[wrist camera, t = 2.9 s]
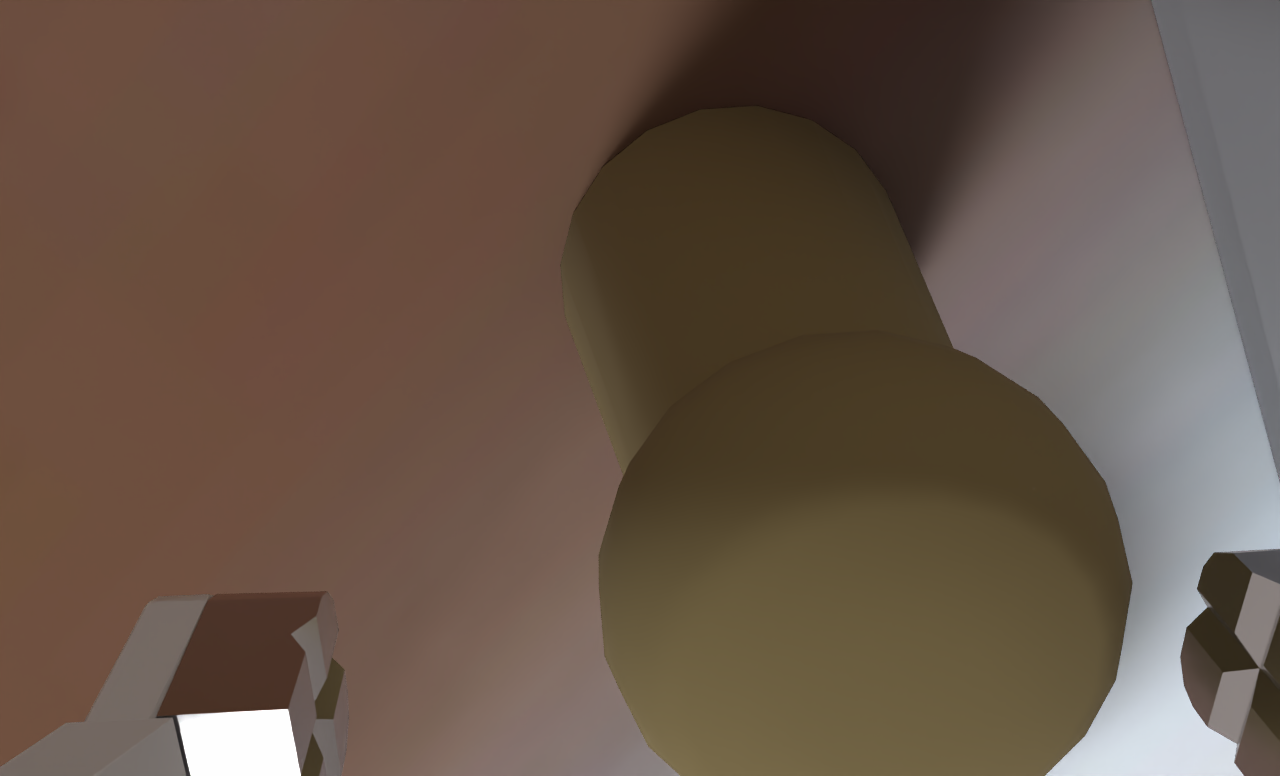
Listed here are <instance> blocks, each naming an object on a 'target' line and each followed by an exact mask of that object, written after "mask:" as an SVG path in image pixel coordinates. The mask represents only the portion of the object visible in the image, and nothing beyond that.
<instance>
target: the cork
mask: <svg viewBox="0 0 1280 776" xmlns="http://www.w3.org/2000/svg"><path fill="white" fill-rule="evenodd" d="M560 266H561V278H562V289H563V300H564V312H565V317H566V320H567V323H568V326H569V328H570V331H571V334H572V337H573V339H574V342H575V345H576V347H577V350H578V353H579V356H580V358H581V361H582V364H583V367H584V369H585V372H586V375H587V378H588V380H589V383H590V386H591V388H592V391H593V394H594V397H595V399H596V402H597V405H598V408H599V410H600V413H601V416H602V418H603V421H604V424H605V427H606V429H607V432H608V435H609V438H610V440H611V443H612V446H613V449H614V451H615V454H616V457H617V459H618V462H619V465H620V468H621V470H622V473H623V479H622V481H621V483H620V485H619V488H618V491H617V494H616V498H615V501H614V505H613V508H612V511H611V515H610V518H609V521H608V525H607V528H606V531H605V535H604V538H603V542H602V545H601V548H600V552H599V594H600V606H601V618H602V630H603V642H604V654H605V658H606V660H607V662H608V665H609V667H610V669H611V671H612V674H613V676H614V678H615V680H616V683H617V685H618V687H619V689H620V691H621V693H622V695H623V697H624V699H625V701H626V703H627V705H628V707H629V709H630V711H631V713H632V715H633V717H634V719H635V721H636V723H637V725H638V727H639V729H640V731H641V733H642V735H643V737H644V739H645V741H646V743H647V745H648V747H649V748H651V749H652V750H653V751H654V752H655V753H656V754H657V755H658V756H659V757H660V758H662V759H663V760H664V761H665V762H666V763H667V764H668V765H669V766H670V767H671V768H673V769H674V770H675V771H676V772H677V773H678V774H679V775H680V776H1045V775H1046V774H1047V773H1048V772H1049V771H1050V770H1051V769H1052V768H1053V767H1054V766H1055V765H1056V764H1057V763H1058V762H1059V761H1060V760H1061V759H1062V758H1063V757H1064V756H1065V755H1066V754H1067V753H1068V752H1069V751H1070V750H1071V749H1072V748H1073V747H1074V746H1075V745H1076V744H1077V743H1078V742H1079V741H1080V740H1081V739H1082V738H1083V737H1084V736H1085V735H1086V733H1087V731H1088V729H1089V728H1090V726H1091V724H1092V722H1093V720H1094V718H1095V717H1096V715H1097V713H1098V711H1099V709H1100V708H1101V706H1102V704H1103V702H1104V700H1105V699H1106V697H1107V695H1108V693H1109V691H1110V689H1111V688H1112V686H1113V684H1114V682H1115V680H1116V676H1117V670H1118V665H1119V660H1120V655H1121V649H1122V643H1123V637H1124V631H1125V625H1126V619H1127V613H1128V607H1129V601H1130V595H1131V589H1132V579H1131V575H1130V570H1129V566H1128V562H1127V557H1126V553H1125V548H1124V544H1123V540H1122V535H1121V531H1120V526H1119V522H1118V518H1117V515H1116V512H1115V509H1114V506H1113V503H1112V500H1111V498H1110V495H1109V492H1108V489H1107V486H1106V483H1105V481H1104V480H1103V478H1102V477H1101V476H1100V474H1099V473H1098V471H1097V470H1096V469H1095V467H1094V466H1093V465H1092V463H1091V462H1090V460H1089V459H1088V458H1087V456H1086V455H1085V454H1084V452H1083V451H1082V449H1081V448H1080V447H1079V445H1078V444H1077V442H1076V441H1075V440H1074V438H1073V437H1072V436H1071V434H1070V433H1069V431H1068V430H1067V429H1066V427H1065V426H1064V425H1063V423H1062V422H1061V421H1060V420H1059V419H1058V418H1057V417H1056V416H1055V415H1054V414H1053V413H1052V412H1051V411H1050V409H1049V408H1048V407H1047V406H1046V405H1045V404H1044V403H1043V402H1042V401H1041V400H1040V399H1039V398H1038V397H1037V396H1035V395H1034V394H1032V393H1031V392H1029V391H1027V390H1026V389H1024V388H1023V387H1021V386H1019V385H1018V384H1016V383H1015V382H1013V381H1012V380H1010V379H1008V378H1007V377H1005V376H1004V375H1002V374H1001V373H999V372H997V371H996V370H994V369H993V368H991V367H990V366H988V365H986V364H985V363H983V362H982V361H980V360H979V359H977V358H975V357H973V356H970V355H968V354H966V353H963V352H961V351H958V350H956V349H954V348H953V346H952V344H951V341H950V339H949V337H948V334H947V332H946V330H945V327H944V325H943V323H942V320H941V318H940V316H939V313H938V311H937V309H936V306H935V304H934V302H933V299H932V297H931V295H930V292H929V290H928V288H927V285H926V283H925V281H924V278H923V276H922V274H921V271H920V269H919V267H918V264H917V262H916V260H915V257H914V255H913V253H912V250H911V248H910V246H909V243H908V241H907V239H906V236H905V234H904V232H903V229H902V227H901V225H900V222H899V220H898V218H897V215H896V213H895V211H894V208H893V206H892V204H891V201H890V199H889V197H888V194H887V192H886V191H885V189H884V188H883V187H882V185H881V184H880V182H879V181H878V180H877V178H876V177H875V176H874V174H873V173H872V171H871V170H870V169H869V167H868V166H867V165H866V163H865V162H864V161H863V159H862V158H861V156H860V155H859V154H858V152H857V151H856V150H855V149H854V148H852V147H851V146H849V145H848V144H846V143H845V142H843V141H842V140H840V139H839V138H837V137H836V136H834V135H833V134H831V133H830V132H828V131H827V130H825V129H824V128H822V127H821V126H820V125H818V124H817V123H815V122H814V121H812V120H810V119H806V118H802V117H798V116H794V115H791V114H787V113H783V112H779V111H776V110H772V109H768V108H764V107H760V106H745V107H730V108H715V109H700V110H698V111H695V112H693V113H690V114H688V115H685V116H683V117H680V118H678V119H675V120H673V121H670V122H668V123H665V124H663V125H660V126H657V127H655V128H652V129H650V130H647V131H646V132H645V133H643V134H642V135H641V136H640V137H639V138H637V139H636V140H635V141H634V142H633V143H631V144H630V145H629V146H628V147H626V148H625V149H624V150H623V151H622V152H620V153H619V154H618V155H617V156H616V157H614V158H613V159H612V160H611V161H609V162H608V163H607V164H606V165H605V166H603V167H602V169H601V171H600V172H599V174H598V175H597V177H596V178H595V180H594V182H593V183H592V185H591V186H590V188H589V189H588V191H587V193H586V194H585V196H584V197H583V199H582V200H581V202H580V204H579V205H578V207H577V208H576V210H575V211H574V213H573V216H572V220H571V224H570V228H569V232H568V236H567V240H566V244H565V248H564V252H563V256H562V261H561V265H560Z"/></svg>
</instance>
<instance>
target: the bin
mask: <svg viewBox="0 0 1280 776" xmlns="http://www.w3.org/2000/svg"><path fill="white" fill-rule="evenodd" d="M1151 1H1152V5H1153V9H1154V12H1155V16H1156V20H1157V24H1158V27H1159V31H1160V35H1161V39H1162V42H1163V46H1164V50H1165V54H1166V57H1167V61H1168V65H1169V68H1170V72H1171V76H1172V80H1173V83H1174V87H1175V91H1176V95H1177V98H1178V102H1179V106H1180V110H1181V113H1182V117H1183V121H1184V125H1185V128H1186V132H1187V136H1188V140H1189V143H1190V147H1191V151H1192V155H1193V158H1194V162H1195V166H1196V170H1197V173H1198V177H1199V181H1200V185H1201V188H1202V192H1203V196H1204V200H1205V203H1206V207H1207V211H1208V215H1209V218H1210V222H1211V226H1212V229H1213V233H1214V237H1215V241H1216V244H1217V248H1218V252H1219V256H1220V259H1221V263H1222V267H1223V271H1224V274H1225V278H1226V282H1227V286H1228V289H1229V293H1230V297H1231V301H1232V304H1233V308H1234V312H1235V316H1236V319H1237V323H1238V327H1239V331H1240V334H1241V338H1242V342H1243V346H1244V349H1245V353H1246V357H1247V361H1248V364H1249V368H1250V372H1251V376H1252V379H1253V383H1254V387H1255V391H1256V394H1257V398H1258V402H1259V405H1260V409H1261V413H1262V417H1263V420H1264V424H1265V428H1266V432H1267V435H1268V439H1269V443H1270V447H1271V450H1272V454H1273V458H1274V462H1275V465H1276V469H1277V473H1278V477H1279V480H1280V0H1151Z"/></svg>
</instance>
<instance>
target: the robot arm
mask: <svg viewBox="0 0 1280 776" xmlns="http://www.w3.org/2000/svg"><path fill="white" fill-rule="evenodd" d="M1197 590H1198V592H1199V593H1200V595H1201V597H1202V599H1203V600H1204V602H1205V604H1206V605H1207V608H1206V609H1205V610H1204V611H1203V612H1202V613H1201V614H1200V615H1199V616H1198V617H1197V618H1196V619H1195V620H1194V621H1193V622H1192V623H1191V624H1190V625H1189V626H1188V627H1187V628H1186V633H1185V638H1184V642H1183V647H1182V652H1181V656H1180V658H1181V665H1182V673H1183V681H1184V686H1185V689H1186V691H1187V694H1188V696H1189V698H1190V701H1191V703H1192V706H1193V707H1194V709H1195V710H1196V712H1197V713H1198V714H1199V716H1200V717H1201V718H1202V720H1203V721H1204V723H1205V724H1206V725H1207V727H1209V728H1210V729H1212V730H1214V731H1216V732H1217V733H1219V734H1221V735H1223V736H1224V737H1226V738H1228V739H1230V740H1231V741H1233V742H1235V743H1237V748H1236V754H1235V761H1234V763H1235V764H1236V765H1237V767H1238V768H1239V769H1240V771H1241V772H1242V773H1243V775H1244V776H1280V549H1268V550H1250V551H1232V552H1214V553H1213V555H1212V556H1211V557H1210V559H1209V560H1208V561H1207V563H1206V564H1205V565H1204V566H1203V570H1202V573H1201V577H1200V580H1199V584H1198V587H1197ZM338 631H339V628H338V623H337V617H336V611H335V606H334V600H333V598H332V597H331V595H330V594H329V593H328V591H321V592H280V593H239V594H216V595H215V596H213V595H210V594H204V595H182V596H160V597H157V598H155V599H154V600H152V601H150V602H149V603H148V604H147V605H146V606H145V608H144V610H143V612H142V613H141V615H140V617H139V619H138V621H137V623H136V625H135V627H134V629H133V630H132V632H131V634H130V636H129V638H128V640H127V642H126V644H125V646H124V647H123V649H122V651H121V653H120V655H119V657H118V659H117V661H116V663H115V664H114V666H113V668H112V670H111V672H110V674H109V676H108V678H107V680H106V681H105V683H104V685H103V687H102V689H101V691H100V693H99V695H98V697H97V698H96V700H95V702H94V704H93V706H92V708H91V710H90V712H89V714H88V715H87V717H86V719H85V721H84V722H76V723H65V724H64V725H62V726H61V727H59V728H58V729H56V730H55V731H53V732H52V733H50V734H49V735H47V736H46V737H44V738H43V739H41V740H40V741H38V742H37V743H35V744H34V745H33V746H31V747H30V748H28V749H27V750H25V751H24V752H22V753H21V754H19V755H18V756H16V757H15V758H13V759H12V760H10V761H9V762H7V763H6V764H4V765H3V766H1V767H0V776H341V775H342V770H343V765H344V760H345V755H346V749H347V735H348V721H349V711H348V691H347V684H346V676H345V670H344V669H343V668H342V667H341V666H340V665H339V664H338V663H337V662H336V661H335V660H334V659H333V658H332V655H333V651H334V647H335V643H336V639H337V635H338Z"/></svg>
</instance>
